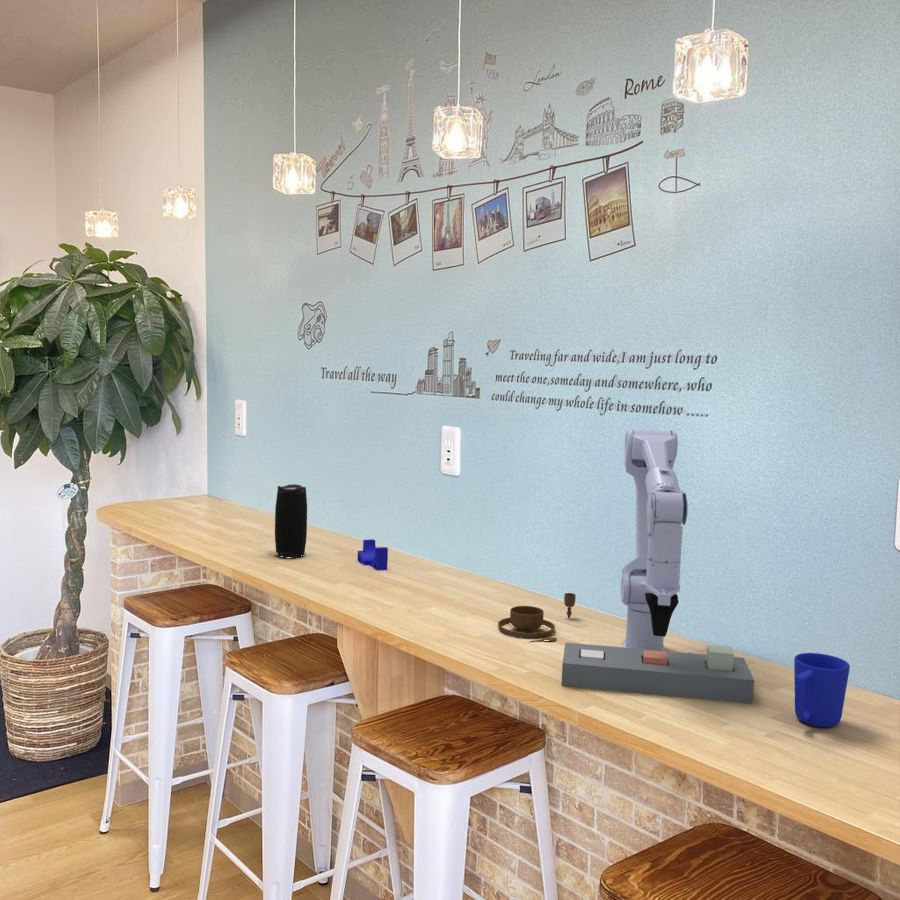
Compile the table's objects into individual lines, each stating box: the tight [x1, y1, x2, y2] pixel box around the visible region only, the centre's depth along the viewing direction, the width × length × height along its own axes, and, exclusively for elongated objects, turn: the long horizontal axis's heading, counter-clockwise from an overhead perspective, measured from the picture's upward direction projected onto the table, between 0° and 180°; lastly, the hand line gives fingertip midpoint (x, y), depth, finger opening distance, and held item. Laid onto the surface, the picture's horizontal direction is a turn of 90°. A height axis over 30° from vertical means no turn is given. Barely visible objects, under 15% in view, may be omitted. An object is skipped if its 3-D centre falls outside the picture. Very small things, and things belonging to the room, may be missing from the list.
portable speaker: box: [274, 483, 308, 558], centre depth 251 cm, size 9×9×20 cm
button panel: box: [561, 642, 755, 704], centre depth 161 cm, size 12×32×4 cm, turn 80°
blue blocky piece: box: [357, 538, 389, 571], centre depth 244 cm, size 12×4×6 cm, turn 23°
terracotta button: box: [643, 650, 668, 666], centre depth 161 cm, size 4×4×4 cm
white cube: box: [581, 649, 604, 660], centre depth 162 cm, size 4×4×4 cm
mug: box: [793, 652, 851, 728], centre depth 144 cm, size 8×12×10 cm
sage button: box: [706, 644, 735, 671], centre depth 159 cm, size 4×4×4 cm
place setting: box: [497, 592, 576, 643], centre depth 191 cm, size 18×20×6 cm
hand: (659, 635), depth 160 cm, fingers closed
